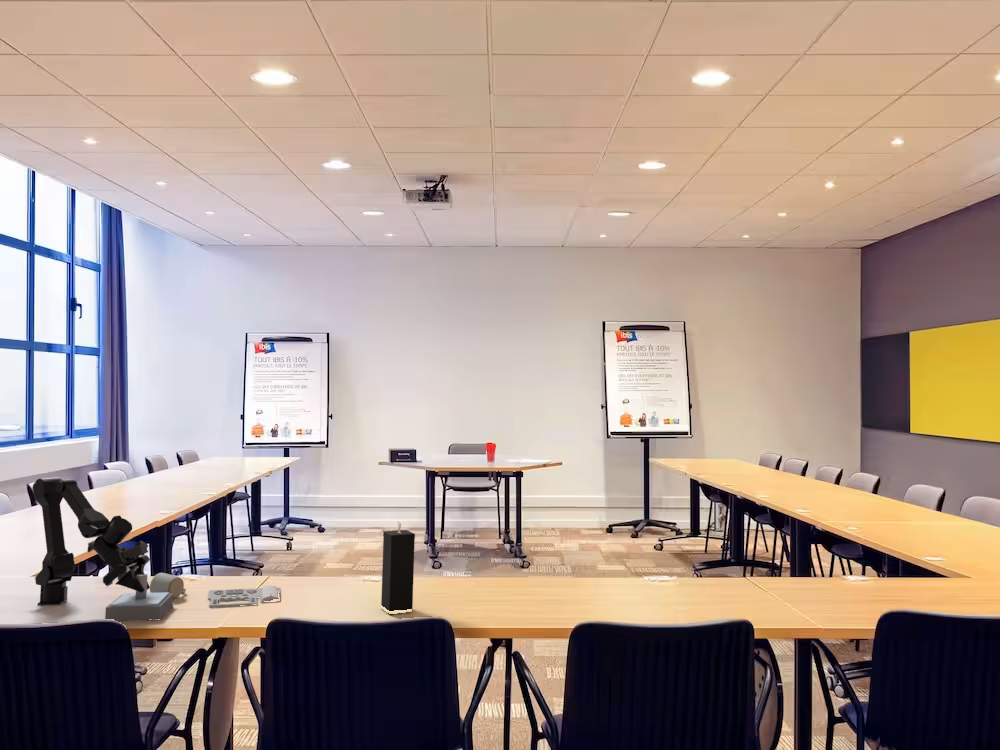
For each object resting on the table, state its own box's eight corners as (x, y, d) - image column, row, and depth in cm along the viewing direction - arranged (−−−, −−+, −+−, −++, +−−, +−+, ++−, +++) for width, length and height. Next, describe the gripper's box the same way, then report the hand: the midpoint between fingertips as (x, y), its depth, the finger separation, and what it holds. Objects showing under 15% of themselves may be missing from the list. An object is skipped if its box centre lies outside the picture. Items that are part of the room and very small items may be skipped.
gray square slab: (105, 621, 215) (105, 607, 215) (121, 607, 230) (122, 594, 230) (159, 620, 218) (160, 606, 218) (172, 606, 232) (173, 593, 232)
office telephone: (280, 583, 258) (283, 597, 239) (280, 591, 258) (282, 606, 239) (209, 586, 250) (206, 601, 231) (208, 593, 250) (205, 609, 231)
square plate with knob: (110, 606, 216) (111, 580, 216) (124, 595, 229) (125, 570, 229) (157, 605, 218) (158, 579, 219) (169, 594, 231) (170, 570, 232)
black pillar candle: (388, 615, 228) (391, 524, 230) (380, 609, 235) (383, 520, 236) (412, 612, 232) (415, 523, 233) (404, 606, 239) (406, 519, 240)
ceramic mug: (168, 601, 238) (170, 577, 238) (148, 598, 240) (149, 574, 240) (191, 594, 248) (193, 571, 248) (172, 591, 250) (173, 569, 251)
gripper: (115, 539, 215) (151, 578, 215) (145, 529, 234) (178, 565, 233) (86, 566, 215) (123, 605, 214) (119, 553, 233) (152, 589, 233)
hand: (145, 590), depth 224 cm, fingers closed on square plate with knob, 3 cm apart
